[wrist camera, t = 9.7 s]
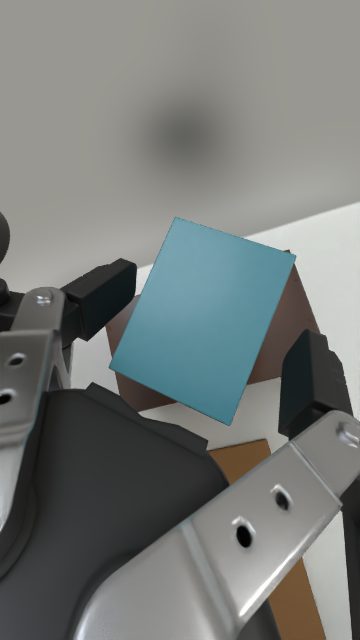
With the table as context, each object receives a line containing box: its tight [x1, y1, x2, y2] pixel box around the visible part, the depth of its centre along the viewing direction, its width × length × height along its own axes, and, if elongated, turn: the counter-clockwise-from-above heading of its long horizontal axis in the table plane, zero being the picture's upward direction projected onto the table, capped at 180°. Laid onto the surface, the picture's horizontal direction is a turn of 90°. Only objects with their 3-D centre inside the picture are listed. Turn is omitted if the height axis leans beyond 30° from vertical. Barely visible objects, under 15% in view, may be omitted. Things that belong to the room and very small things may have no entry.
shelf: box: [105, 250, 321, 412], centre depth 19 cm, size 14×8×7 cm, turn 105°
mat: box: [207, 439, 326, 640], centre depth 19 cm, size 20×20×1 cm
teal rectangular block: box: [109, 217, 296, 426], centre depth 12 cm, size 4×6×8 cm
